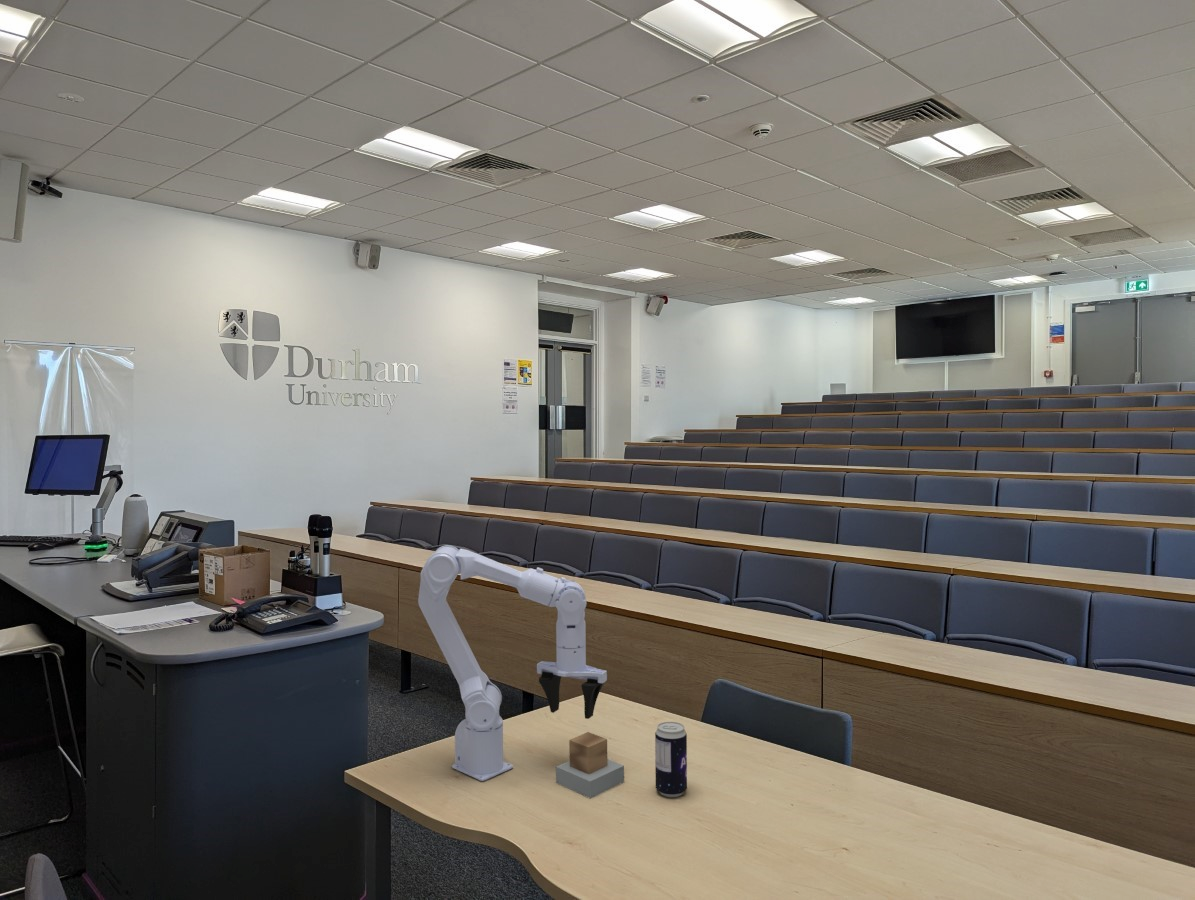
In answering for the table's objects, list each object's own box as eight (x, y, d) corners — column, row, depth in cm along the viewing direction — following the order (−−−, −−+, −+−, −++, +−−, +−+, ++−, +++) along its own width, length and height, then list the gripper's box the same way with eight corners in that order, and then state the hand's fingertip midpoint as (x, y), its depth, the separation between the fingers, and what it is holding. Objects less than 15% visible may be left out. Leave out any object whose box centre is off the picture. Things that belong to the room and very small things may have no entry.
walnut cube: (569, 766, 146) (569, 739, 146) (588, 757, 150) (588, 731, 150) (588, 774, 143) (588, 747, 143) (607, 765, 146) (607, 739, 146)
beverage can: (685, 800, 139) (685, 733, 138) (653, 797, 140) (653, 731, 140) (688, 786, 144) (687, 721, 144) (657, 783, 145) (657, 719, 145)
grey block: (556, 785, 146) (555, 766, 146) (589, 769, 153) (589, 752, 153) (590, 800, 140) (590, 781, 140) (624, 784, 146) (624, 765, 146)
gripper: (528, 645, 152) (529, 714, 152) (594, 654, 146) (595, 727, 146) (546, 636, 158) (547, 703, 159) (611, 645, 152) (611, 714, 152)
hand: (571, 713), depth 153 cm, fingers open, 7 cm apart
